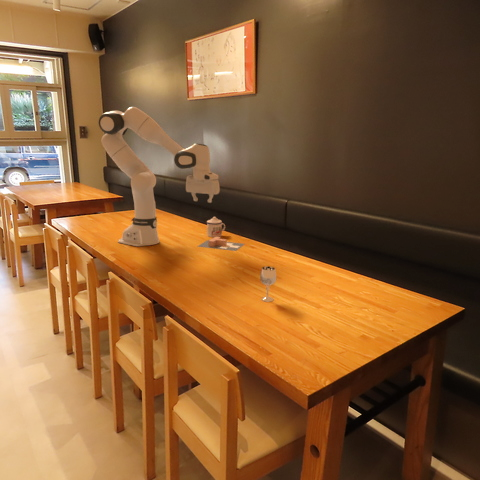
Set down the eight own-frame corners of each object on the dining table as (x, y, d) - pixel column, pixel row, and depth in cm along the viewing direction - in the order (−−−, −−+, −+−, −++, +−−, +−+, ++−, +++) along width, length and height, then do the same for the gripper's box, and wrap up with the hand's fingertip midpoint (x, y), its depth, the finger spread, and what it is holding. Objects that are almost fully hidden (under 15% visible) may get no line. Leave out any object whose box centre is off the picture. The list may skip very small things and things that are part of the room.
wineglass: (265, 295, 149) (266, 264, 146) (278, 299, 145) (279, 268, 142) (256, 299, 144) (257, 268, 141) (269, 303, 141) (270, 272, 138)
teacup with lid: (211, 238, 228) (211, 219, 225) (203, 235, 236) (203, 216, 233) (229, 236, 235) (229, 217, 232) (220, 233, 242) (221, 214, 239)
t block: (208, 246, 211) (208, 240, 210) (215, 241, 220) (215, 236, 219) (222, 247, 208) (222, 242, 207) (228, 243, 217) (229, 238, 217)
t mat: (197, 247, 210) (197, 246, 210) (208, 240, 224) (208, 239, 224) (235, 252, 203) (235, 250, 203) (244, 244, 217) (244, 243, 217)
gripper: (182, 174, 208) (183, 200, 212) (213, 176, 197) (214, 204, 201) (190, 174, 213) (191, 199, 217) (221, 175, 202) (221, 202, 206)
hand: (202, 201), depth 209 cm, fingers open, 8 cm apart
